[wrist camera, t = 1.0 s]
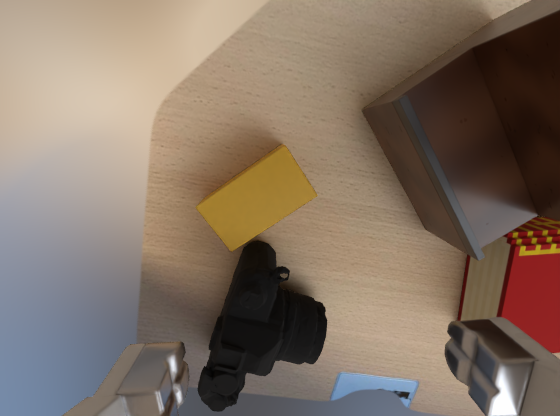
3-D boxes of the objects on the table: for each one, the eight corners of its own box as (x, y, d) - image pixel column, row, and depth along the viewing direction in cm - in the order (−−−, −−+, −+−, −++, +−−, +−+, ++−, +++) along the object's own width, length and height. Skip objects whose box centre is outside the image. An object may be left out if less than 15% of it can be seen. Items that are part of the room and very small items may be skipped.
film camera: (284, 367, 31) (291, 457, 22) (204, 347, 30) (179, 435, 21) (334, 256, 27) (365, 312, 19) (245, 228, 26) (234, 275, 17)
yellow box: (204, 197, 25) (194, 207, 22) (282, 143, 24) (285, 144, 21) (235, 237, 26) (231, 252, 23) (311, 187, 25) (318, 195, 22)
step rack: (361, 109, 24) (575, 52, 7) (494, 19, 22) (1147, -315, 6) (425, 229, 27) (670, 375, 11) (544, 158, 26) (1038, 200, 9)
